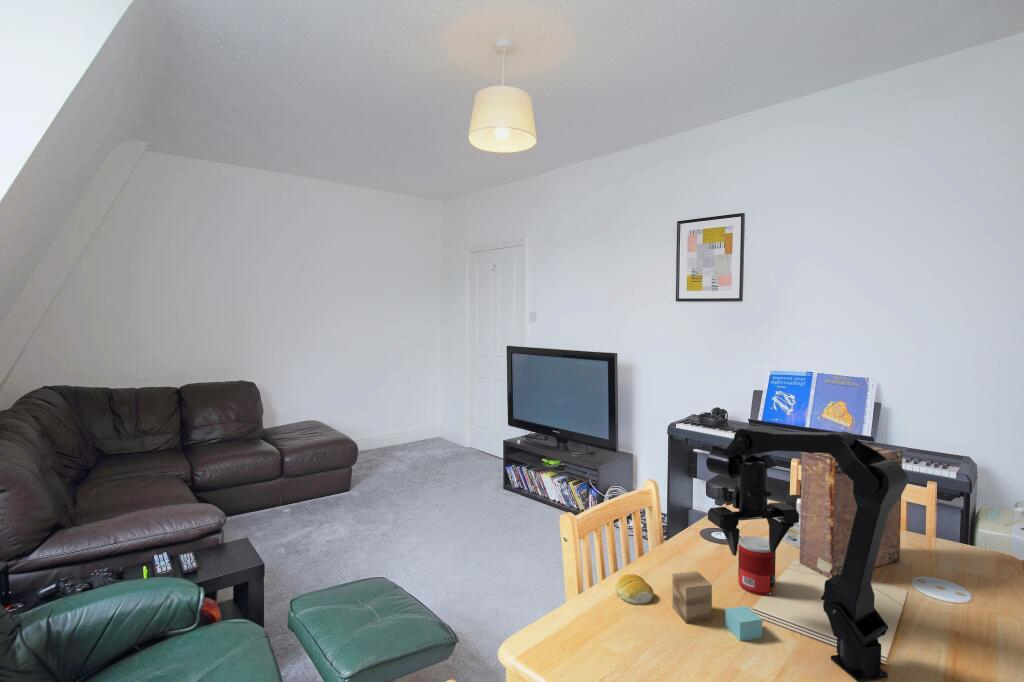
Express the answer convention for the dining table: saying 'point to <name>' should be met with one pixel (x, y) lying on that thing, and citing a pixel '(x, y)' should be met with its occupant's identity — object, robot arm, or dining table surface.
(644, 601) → the bread roll
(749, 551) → the canned food
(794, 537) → the container
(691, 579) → the tower top
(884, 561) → the book
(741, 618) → the teal block
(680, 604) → the tower base
